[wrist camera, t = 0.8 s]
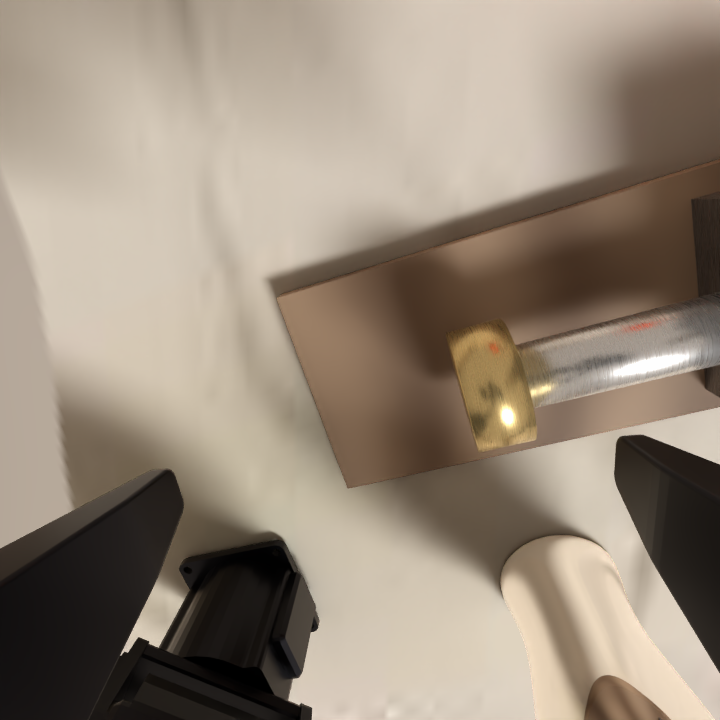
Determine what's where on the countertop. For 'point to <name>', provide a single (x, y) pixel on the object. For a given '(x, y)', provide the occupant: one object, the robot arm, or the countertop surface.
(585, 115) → the countertop surface
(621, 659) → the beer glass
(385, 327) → the base board
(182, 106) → the countertop surface
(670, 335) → the shaft
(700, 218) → the bearing block
